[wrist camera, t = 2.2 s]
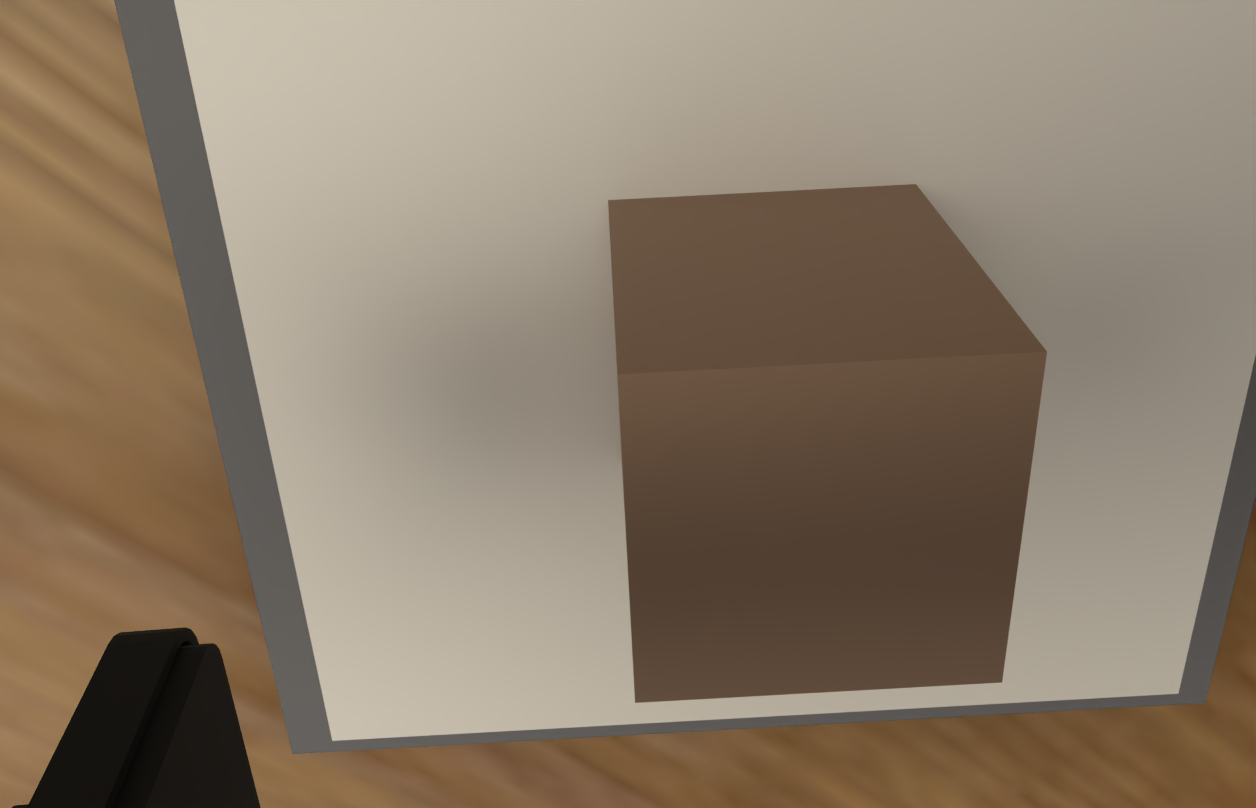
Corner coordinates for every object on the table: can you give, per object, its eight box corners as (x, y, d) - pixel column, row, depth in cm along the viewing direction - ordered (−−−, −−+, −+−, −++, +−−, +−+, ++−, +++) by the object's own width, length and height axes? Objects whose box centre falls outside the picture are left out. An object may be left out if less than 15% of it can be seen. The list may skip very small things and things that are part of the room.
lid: (1357, -275, 14) (1806, -296, 9) (1158, 661, 21) (1346, 959, 15) (151, -217, 14) (-102, -202, 9) (341, 706, 20) (259, 1022, 15)
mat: (1435, -377, 14) (1468, -383, 13) (1189, 679, 22) (1205, 702, 21) (60, -311, 14) (40, -314, 13) (299, 729, 21) (292, 753, 21)
